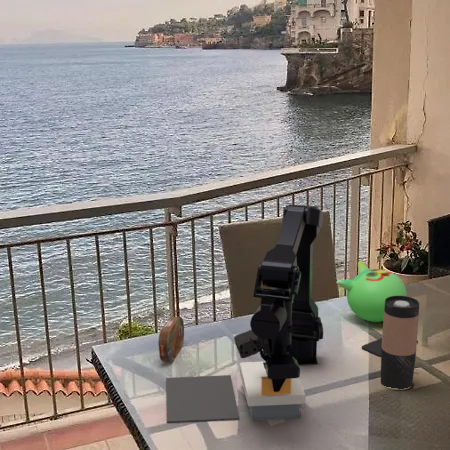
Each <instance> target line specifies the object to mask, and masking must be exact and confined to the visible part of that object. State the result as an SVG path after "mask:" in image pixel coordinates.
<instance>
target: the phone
mask: <svg viewBox="0 0 450 450" xmlns="http://www.w3.org/2000/svg"><path fill="white" fill-rule="evenodd" d="M418 342H419V341H418V339H417V344H418ZM381 346H382V337H380V338H378V339H376V340H372V341H371V342H368V343H366V344H364V345H362V346H361V350H363V351H364V352H367V353H370V354H371V355H373V356H376V357H379V358H381V348H382V347H381Z"/></svg>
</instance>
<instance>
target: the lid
mask: <svg viewBox="0 0 450 450" xmlns="http://www.w3.org/2000/svg"><path fill="white" fill-rule="evenodd" d="M263 362H264V361H248V362H247V361H245V362H244V361H243V362H239V373H240V377H241V383H242V387H243V391H244V395H245V399H246V400H245V401H246V402H247V403H246V404H247V407H248V406H267V405H289V404H300V405H305V404H306V394H305V391H304V388H303V385H302V383H301V381H300V379H299V378H300V377H299V378H291V379H286V380H285V382H284V384H283V386H282V387H281V389H280V391H279V392H274V390H273V384H272V379H269V378H268V377H267V374H266V369H265V368H264V365H263Z"/></svg>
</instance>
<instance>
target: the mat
mask: <svg viewBox="0 0 450 450" xmlns="http://www.w3.org/2000/svg"><path fill="white" fill-rule="evenodd" d="M165 388H166V392H165V393H166V401H165V402H166V404H165V405H166V424H175V423H176V424H178V423H179V424H180V423H197V422H199V423H200V422H214V421H215V422H216V421H218V422H220V421H222V422H224V421H240V413H239V410H238V405H237V399H236V394H235V390H234V386H233V380H232V375H230V374H228V375H223V374H222V375H221V374H220V375H206V376H205V375H203V376H202V375H201V376H199V375H198V376H179V377H178V376H175V377H166V378H165Z"/></svg>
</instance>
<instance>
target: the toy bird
mask: <svg viewBox="0 0 450 450" xmlns="http://www.w3.org/2000/svg"><path fill="white" fill-rule="evenodd" d="M357 268H358V274H357V275H356V276H355V277H354V278H353V279H338V280H337V281H336V285H338V286H340V288H343V289H345V291H346V292H347V293H346V298H347V303H348V306H349V308H350V310H351V311H352V312H353V314H354V315H356V316H357V317H359V318H360V319H362V320H364V321H368V322H371V323H372V322H373V323H377V322H378V323H379V322H380V323H381V322H383V320H384V307H385V299H386V298H388V297H391V296H407V289H406V286H405V284H404V282H403V280H402V279H401V278H400V277H399V276H398V275H397V274H395V273H393V272H391V271H388V270H384V269H377V268H374V269H370V268H369V267H368V266H367V265H366V263H364V262H363V261H362V260H359V261H358V263H357Z"/></svg>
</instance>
